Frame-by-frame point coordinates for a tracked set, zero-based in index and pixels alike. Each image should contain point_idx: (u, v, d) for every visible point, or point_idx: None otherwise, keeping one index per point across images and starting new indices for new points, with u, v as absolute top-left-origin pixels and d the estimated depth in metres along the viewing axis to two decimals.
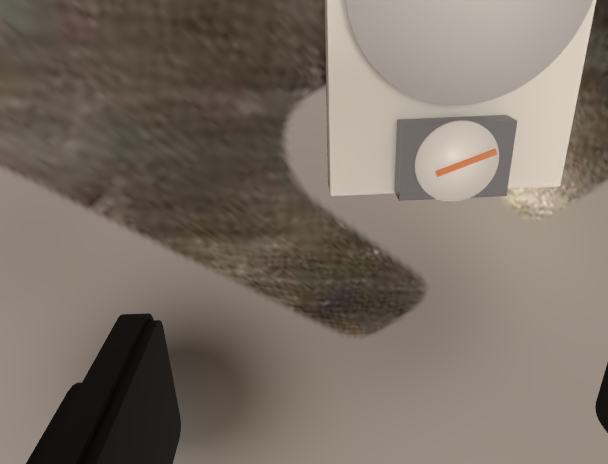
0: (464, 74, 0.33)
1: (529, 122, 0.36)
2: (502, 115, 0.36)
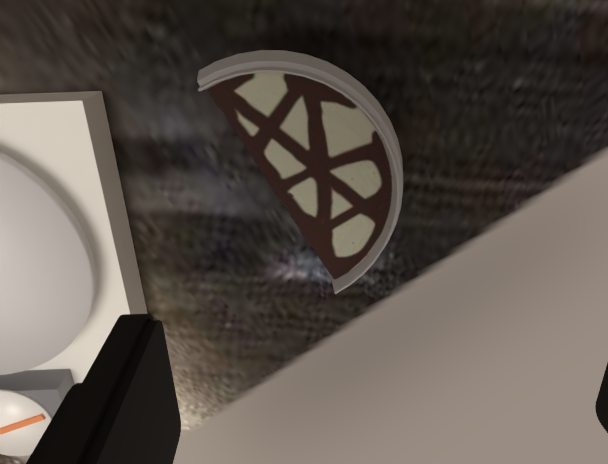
0: None
1: None
2: (63, 370, 0.34)
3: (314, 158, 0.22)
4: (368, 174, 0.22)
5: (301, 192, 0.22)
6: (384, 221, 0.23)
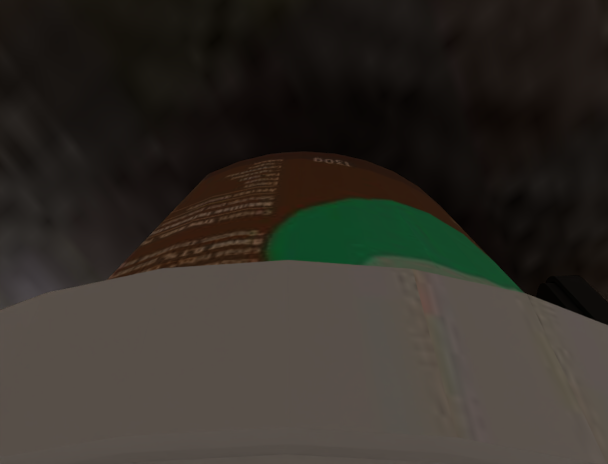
0: None
1: None
2: None
3: None
4: None
5: None
6: None
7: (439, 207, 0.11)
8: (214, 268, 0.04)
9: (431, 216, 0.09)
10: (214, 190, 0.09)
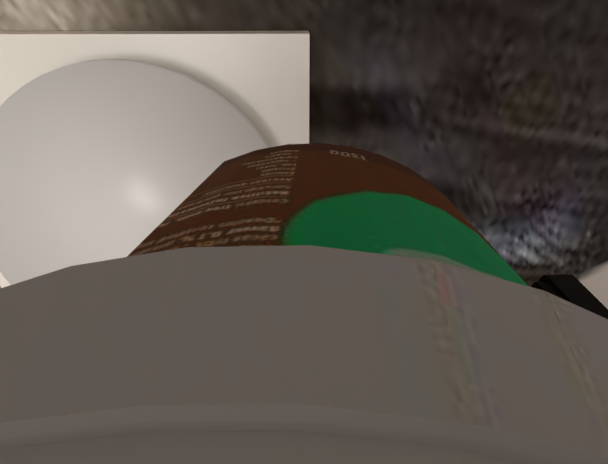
0: None
1: None
2: None
3: None
4: None
5: None
6: None
7: (453, 205, 0.11)
8: (237, 249, 0.04)
9: (445, 213, 0.09)
10: (230, 177, 0.09)
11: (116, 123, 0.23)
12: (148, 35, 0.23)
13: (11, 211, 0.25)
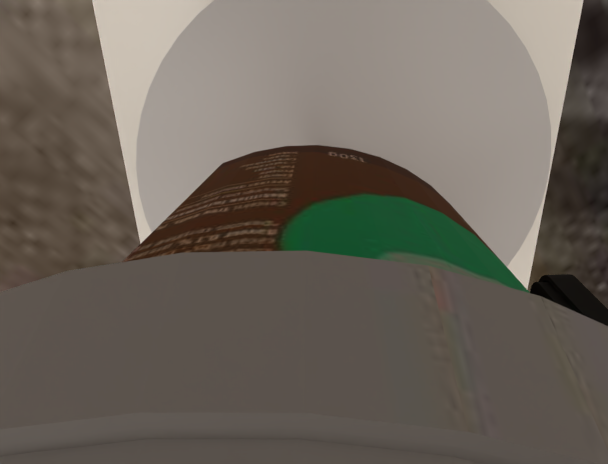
0: None
1: None
2: None
3: None
4: None
5: None
6: None
7: (451, 207, 0.11)
8: (233, 255, 0.04)
9: (444, 216, 0.09)
10: (229, 179, 0.09)
11: (342, 44, 0.17)
12: None
13: (185, 173, 0.19)
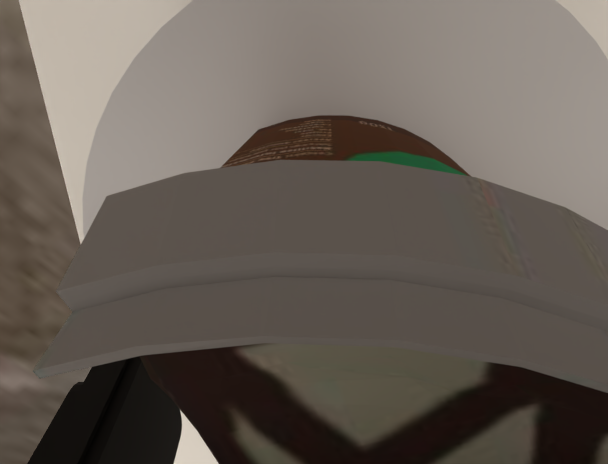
0: None
1: None
2: None
3: None
4: None
5: None
6: None
7: None
8: (321, 163, 0.05)
9: None
10: (272, 138, 0.10)
11: (362, 69, 0.12)
12: None
13: None
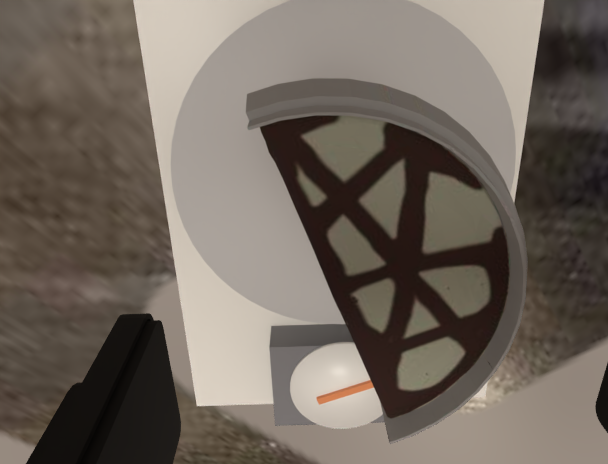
0: None
1: None
2: None
3: (401, 252, 0.14)
4: (473, 285, 0.15)
5: (370, 297, 0.15)
6: (479, 352, 0.16)
7: None
8: (327, 79, 0.13)
9: None
10: None
11: (341, 63, 0.21)
12: None
13: (211, 169, 0.23)
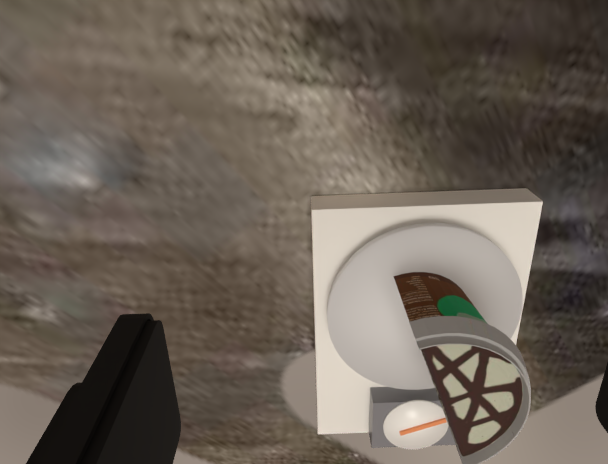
0: (420, 371, 0.43)
1: None
2: None
3: (474, 387, 0.32)
4: (506, 399, 0.32)
5: (459, 405, 0.32)
6: (507, 426, 0.33)
7: (463, 292, 0.38)
8: (444, 316, 0.31)
9: (463, 299, 0.36)
10: (408, 288, 0.36)
11: (428, 259, 0.38)
12: (445, 205, 0.38)
13: (350, 310, 0.40)
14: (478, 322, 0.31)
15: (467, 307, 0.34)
